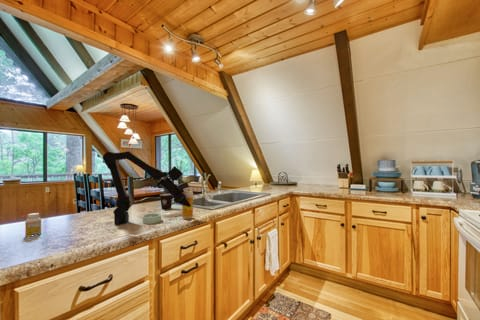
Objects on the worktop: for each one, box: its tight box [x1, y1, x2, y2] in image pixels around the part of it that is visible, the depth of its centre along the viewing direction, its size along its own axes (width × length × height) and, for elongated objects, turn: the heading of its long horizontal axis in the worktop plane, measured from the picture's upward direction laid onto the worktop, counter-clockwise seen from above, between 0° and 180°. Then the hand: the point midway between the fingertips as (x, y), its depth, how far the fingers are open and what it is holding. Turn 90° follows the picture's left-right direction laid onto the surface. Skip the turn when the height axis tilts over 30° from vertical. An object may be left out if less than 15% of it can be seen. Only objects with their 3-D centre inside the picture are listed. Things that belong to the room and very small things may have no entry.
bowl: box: [141, 212, 162, 225], centre depth 121 cm, size 9×9×4 cm
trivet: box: [161, 209, 182, 218], centre depth 136 cm, size 12×12×2 cm
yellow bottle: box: [181, 190, 194, 220], centre depth 127 cm, size 6×6×15 cm
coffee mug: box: [159, 193, 176, 211], centre depth 156 cm, size 12×9×10 cm
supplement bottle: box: [24, 212, 42, 237], centre depth 102 cm, size 5×5×10 cm
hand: (189, 205), depth 127 cm, fingers closed on yellow bottle, 6 cm apart
